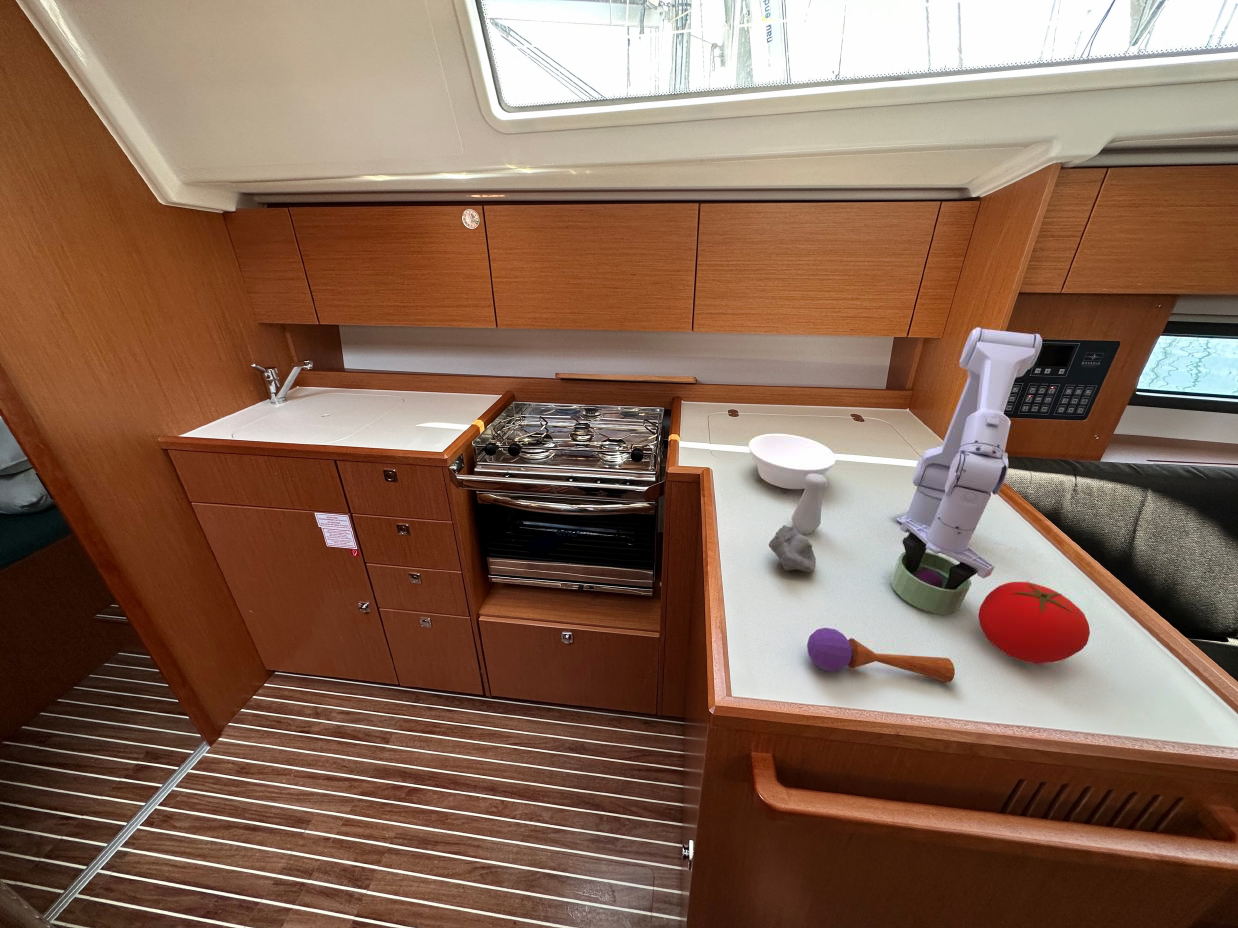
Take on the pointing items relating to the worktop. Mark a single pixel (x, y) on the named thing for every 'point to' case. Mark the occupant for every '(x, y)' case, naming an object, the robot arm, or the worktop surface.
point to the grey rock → (793, 549)
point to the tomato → (1033, 623)
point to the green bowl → (925, 593)
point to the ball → (929, 577)
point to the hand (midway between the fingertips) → (927, 583)
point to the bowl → (789, 459)
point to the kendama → (870, 656)
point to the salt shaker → (810, 505)
